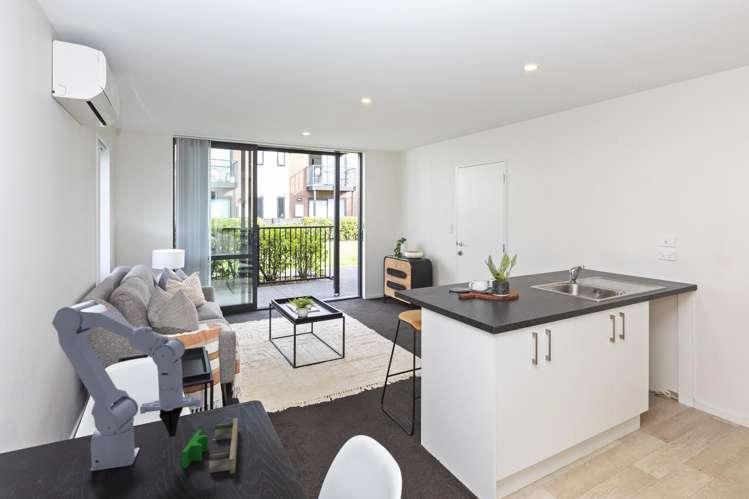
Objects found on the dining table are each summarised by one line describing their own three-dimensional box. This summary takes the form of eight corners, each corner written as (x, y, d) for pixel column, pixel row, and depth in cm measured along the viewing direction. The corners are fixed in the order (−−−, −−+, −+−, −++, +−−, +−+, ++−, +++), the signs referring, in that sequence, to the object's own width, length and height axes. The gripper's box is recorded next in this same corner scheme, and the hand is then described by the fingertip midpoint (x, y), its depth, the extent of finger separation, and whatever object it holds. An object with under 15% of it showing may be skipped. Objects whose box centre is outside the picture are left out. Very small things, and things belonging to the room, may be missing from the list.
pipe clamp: (197, 468, 107) (196, 451, 107) (182, 468, 107) (181, 452, 107) (211, 444, 118) (211, 429, 118) (198, 444, 118) (197, 429, 118)
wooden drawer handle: (208, 477, 103) (208, 461, 103) (216, 433, 124) (216, 420, 124) (234, 473, 105) (234, 457, 104) (238, 430, 126) (237, 417, 125)
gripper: (135, 395, 103) (138, 446, 104) (198, 388, 107) (199, 438, 108) (143, 384, 110) (145, 433, 111) (201, 378, 114) (203, 425, 115)
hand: (172, 434), depth 110 cm, fingers closed
